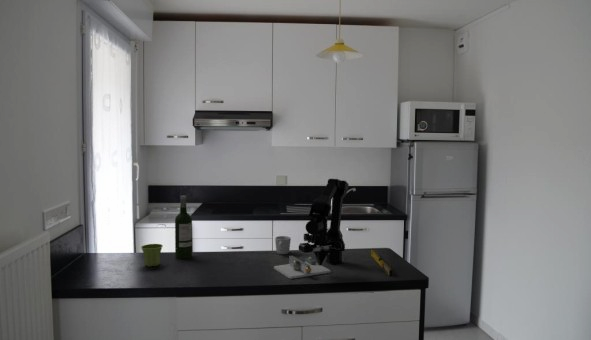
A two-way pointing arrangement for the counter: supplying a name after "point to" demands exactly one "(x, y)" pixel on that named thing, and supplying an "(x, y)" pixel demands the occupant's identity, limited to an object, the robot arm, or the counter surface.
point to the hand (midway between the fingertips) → (319, 265)
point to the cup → (282, 244)
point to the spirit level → (381, 262)
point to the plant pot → (152, 254)
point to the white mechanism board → (292, 273)
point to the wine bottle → (183, 232)
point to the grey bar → (299, 265)
